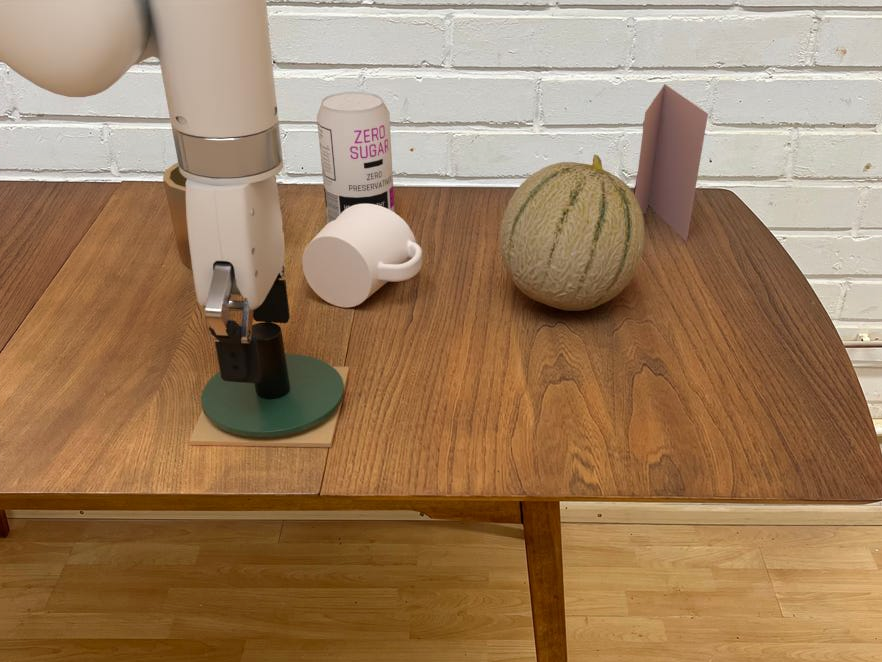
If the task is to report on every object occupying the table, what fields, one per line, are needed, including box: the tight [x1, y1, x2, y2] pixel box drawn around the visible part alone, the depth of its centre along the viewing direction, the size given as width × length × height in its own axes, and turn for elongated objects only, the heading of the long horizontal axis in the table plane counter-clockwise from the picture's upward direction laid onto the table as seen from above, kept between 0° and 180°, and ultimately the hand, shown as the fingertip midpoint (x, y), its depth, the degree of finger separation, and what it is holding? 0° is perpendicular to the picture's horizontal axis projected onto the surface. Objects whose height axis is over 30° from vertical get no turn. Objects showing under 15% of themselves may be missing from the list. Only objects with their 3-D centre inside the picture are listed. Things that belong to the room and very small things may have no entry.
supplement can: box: [316, 91, 396, 224], centre depth 104 cm, size 8×8×15 cm
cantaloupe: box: [499, 154, 646, 312], centre depth 91 cm, size 15×15×15 cm
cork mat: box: [188, 365, 350, 448], centre depth 80 cm, size 12×12×1 cm
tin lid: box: [200, 322, 345, 437], centre depth 77 cm, size 12×12×7 cm
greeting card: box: [633, 83, 709, 243], centre depth 106 cm, size 11×7×15 cm, turn 160°
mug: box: [301, 204, 423, 308], centre depth 94 cm, size 12×9×8 cm
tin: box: [162, 162, 192, 270], centre depth 101 cm, size 11×11×10 cm
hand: (257, 349), depth 76 cm, fingers open, 9 cm apart
